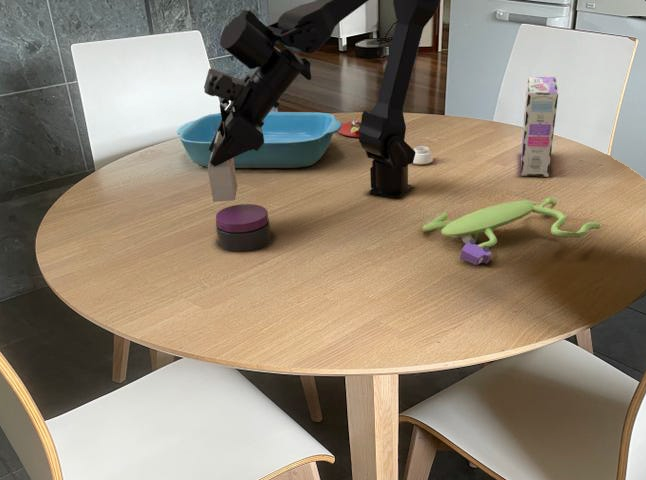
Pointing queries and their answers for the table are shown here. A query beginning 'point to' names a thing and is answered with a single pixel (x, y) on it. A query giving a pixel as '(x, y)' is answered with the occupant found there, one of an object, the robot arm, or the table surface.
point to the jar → (244, 239)
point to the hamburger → (351, 127)
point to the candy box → (538, 126)
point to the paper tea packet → (222, 177)
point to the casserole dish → (268, 139)
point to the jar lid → (242, 218)
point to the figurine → (498, 225)
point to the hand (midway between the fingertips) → (211, 157)
